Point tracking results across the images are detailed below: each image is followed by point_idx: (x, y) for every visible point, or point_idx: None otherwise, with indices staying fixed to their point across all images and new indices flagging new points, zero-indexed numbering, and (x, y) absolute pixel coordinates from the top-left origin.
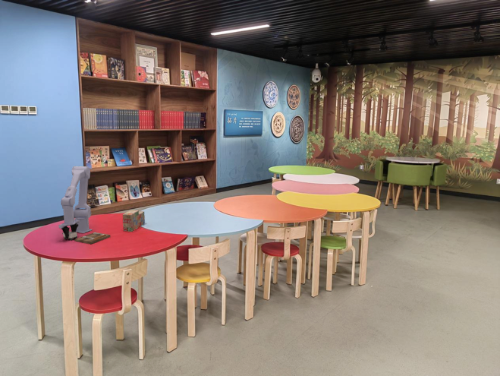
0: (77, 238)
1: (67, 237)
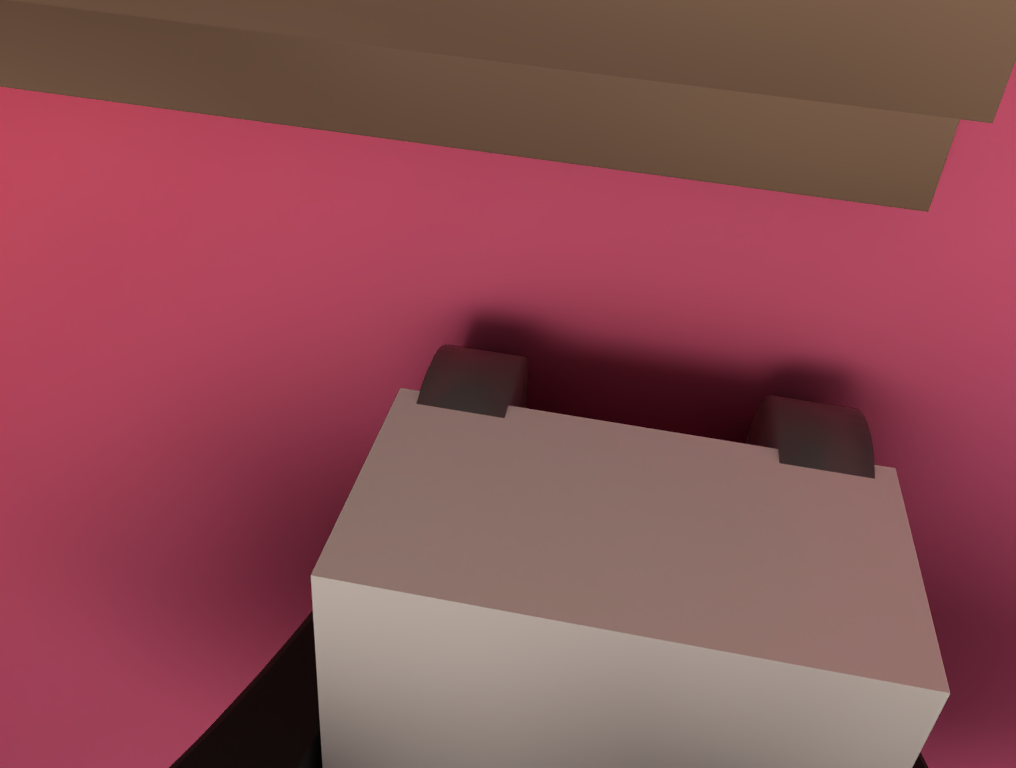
0: (824, 48)
1: None
